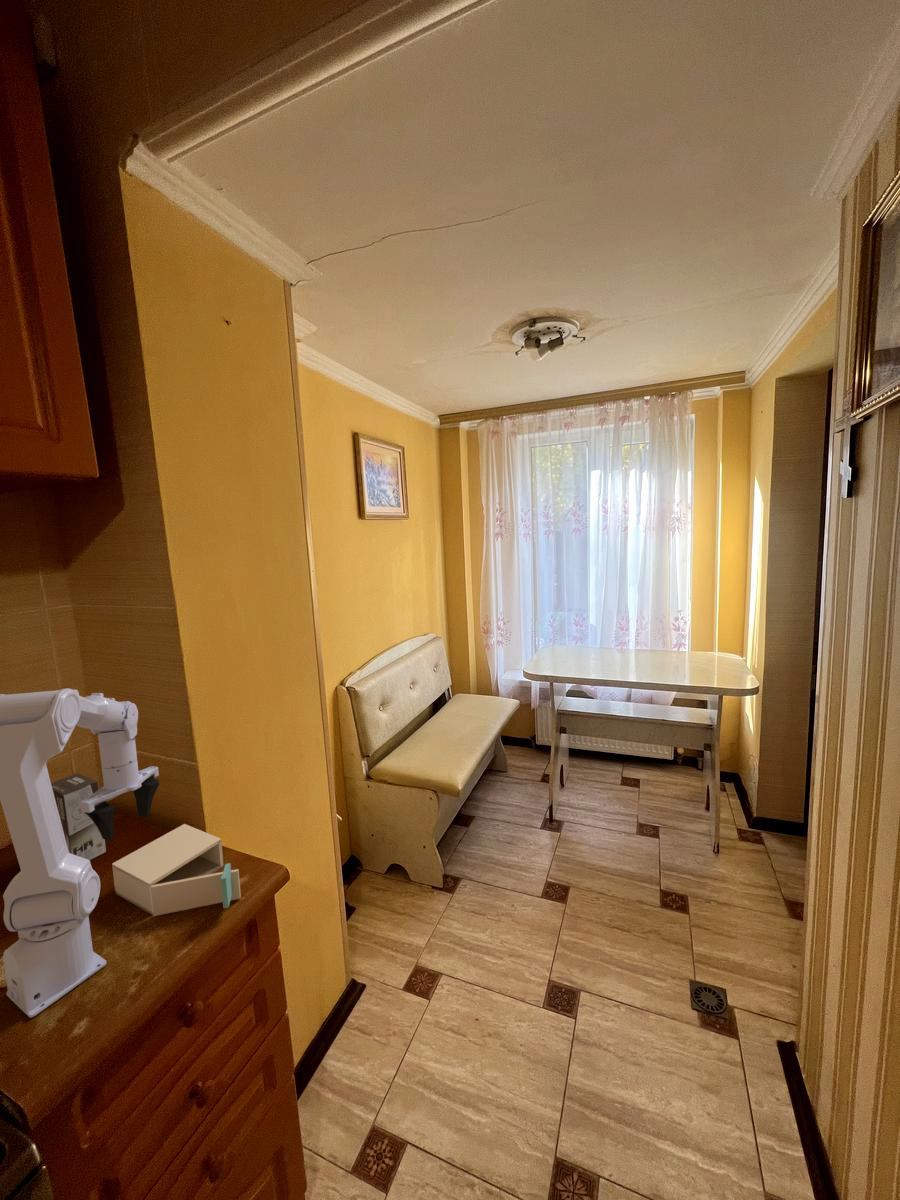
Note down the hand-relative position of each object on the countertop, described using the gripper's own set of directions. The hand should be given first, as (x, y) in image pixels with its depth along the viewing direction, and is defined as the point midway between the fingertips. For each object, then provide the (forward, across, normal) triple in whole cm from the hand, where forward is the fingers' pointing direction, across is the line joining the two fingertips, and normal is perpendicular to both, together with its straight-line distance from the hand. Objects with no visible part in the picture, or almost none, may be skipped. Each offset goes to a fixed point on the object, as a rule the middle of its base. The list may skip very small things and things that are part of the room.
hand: (126, 826), depth 93 cm
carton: (+9, 0, -10) cm, 14 cm away
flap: (+9, -6, -22) cm, 25 cm away
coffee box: (+10, +1, +16) cm, 19 cm away
